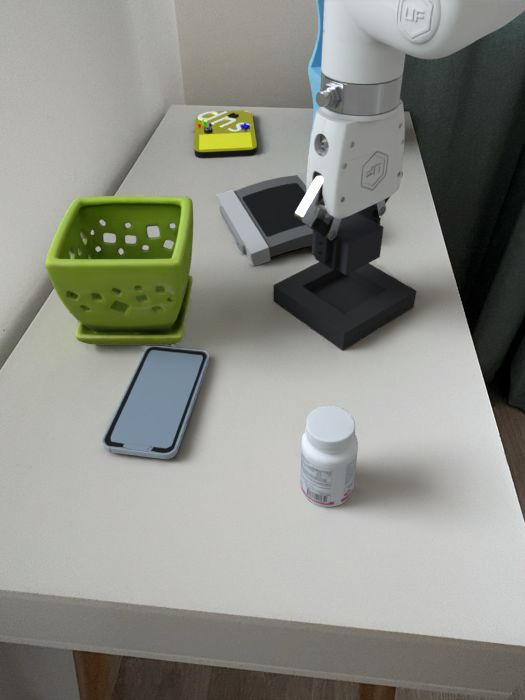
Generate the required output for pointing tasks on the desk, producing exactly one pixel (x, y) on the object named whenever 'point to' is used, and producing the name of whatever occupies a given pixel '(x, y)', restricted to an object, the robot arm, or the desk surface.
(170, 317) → the flower pot
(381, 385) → the desk surface
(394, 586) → the desk surface
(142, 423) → the smartphone
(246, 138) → the game console
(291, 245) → the alarm clock
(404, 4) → the robot arm
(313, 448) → the pill bottle
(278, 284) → the base pad
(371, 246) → the dark grey square block
